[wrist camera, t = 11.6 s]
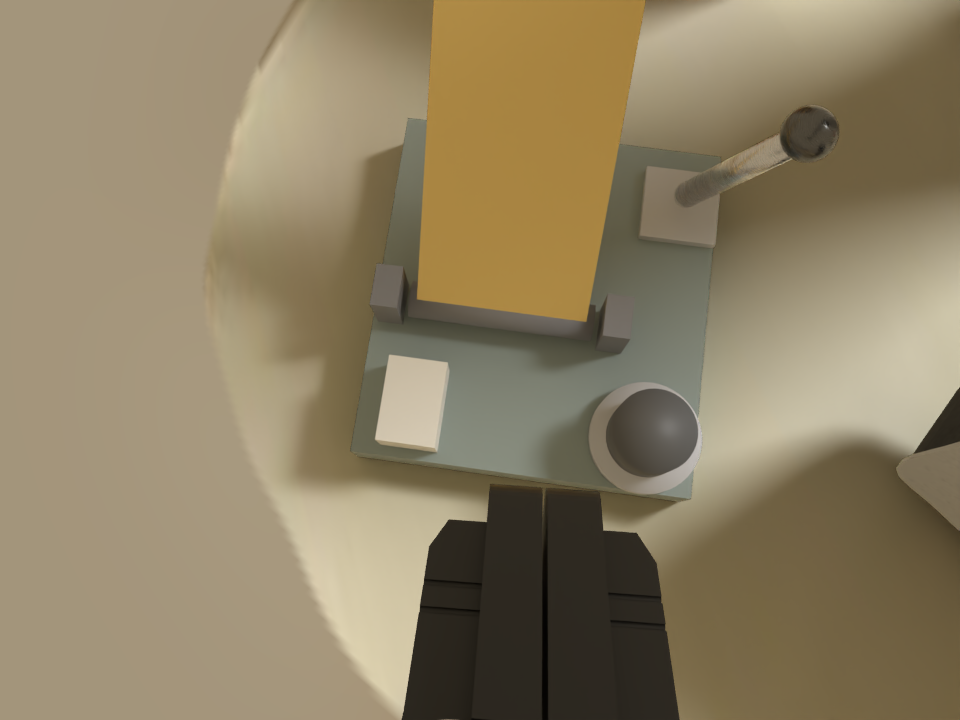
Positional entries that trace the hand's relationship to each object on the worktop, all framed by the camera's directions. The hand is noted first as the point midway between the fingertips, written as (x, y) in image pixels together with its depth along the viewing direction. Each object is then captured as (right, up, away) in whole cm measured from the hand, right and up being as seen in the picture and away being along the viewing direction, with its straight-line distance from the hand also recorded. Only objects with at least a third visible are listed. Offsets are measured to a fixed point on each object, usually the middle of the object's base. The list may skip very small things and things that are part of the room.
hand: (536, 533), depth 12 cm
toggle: (+7, +9, +21) cm, 24 cm away
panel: (+2, +4, +24) cm, 24 cm away
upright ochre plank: (0, +4, +21) cm, 21 cm away
